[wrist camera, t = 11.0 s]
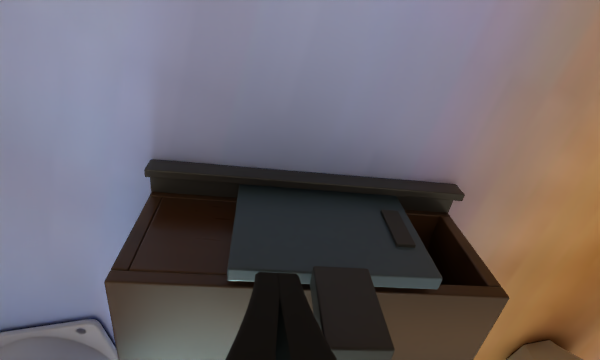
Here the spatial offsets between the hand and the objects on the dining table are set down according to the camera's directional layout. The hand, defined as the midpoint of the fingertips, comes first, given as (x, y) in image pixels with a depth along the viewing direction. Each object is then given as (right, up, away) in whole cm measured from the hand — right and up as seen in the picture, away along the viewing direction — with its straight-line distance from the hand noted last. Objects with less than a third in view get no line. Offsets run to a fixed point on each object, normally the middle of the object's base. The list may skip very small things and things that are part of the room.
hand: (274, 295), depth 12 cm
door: (+2, +3, +6) cm, 7 cm away
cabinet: (+1, -2, +9) cm, 9 cm away
